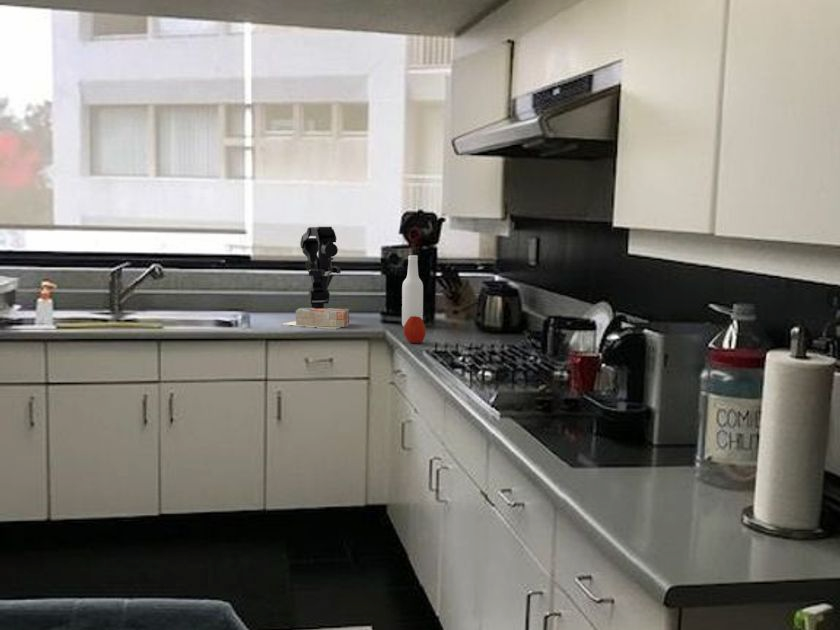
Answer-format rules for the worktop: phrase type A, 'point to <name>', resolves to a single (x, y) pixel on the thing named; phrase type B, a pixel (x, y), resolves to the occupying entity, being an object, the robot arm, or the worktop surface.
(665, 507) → the worktop surface
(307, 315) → the stack of blocks
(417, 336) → the red oval lump
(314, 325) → the mat
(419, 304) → the alcohol
